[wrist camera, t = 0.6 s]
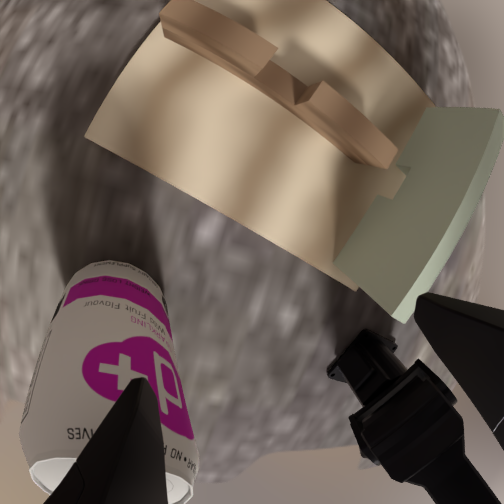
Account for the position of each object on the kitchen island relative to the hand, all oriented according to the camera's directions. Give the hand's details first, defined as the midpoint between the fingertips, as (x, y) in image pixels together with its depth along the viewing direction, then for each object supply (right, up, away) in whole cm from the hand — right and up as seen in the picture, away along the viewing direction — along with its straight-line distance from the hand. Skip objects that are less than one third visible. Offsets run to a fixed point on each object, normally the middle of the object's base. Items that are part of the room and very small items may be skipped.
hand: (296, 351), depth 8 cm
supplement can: (-12, -1, +12) cm, 17 cm away
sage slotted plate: (+10, +8, +13) cm, 18 cm away
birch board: (+2, +13, +11) cm, 17 cm away
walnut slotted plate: (0, +14, +9) cm, 16 cm away
